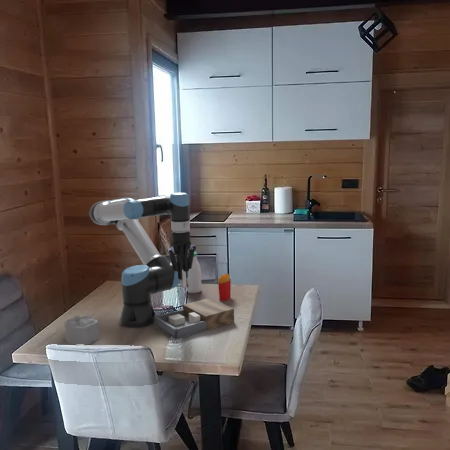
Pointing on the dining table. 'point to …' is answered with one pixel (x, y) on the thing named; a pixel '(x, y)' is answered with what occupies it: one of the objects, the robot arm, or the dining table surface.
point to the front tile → (193, 318)
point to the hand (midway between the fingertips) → (183, 286)
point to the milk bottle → (194, 277)
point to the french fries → (224, 287)
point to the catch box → (180, 329)
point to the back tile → (176, 319)
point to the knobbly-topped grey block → (81, 330)
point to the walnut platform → (211, 312)
